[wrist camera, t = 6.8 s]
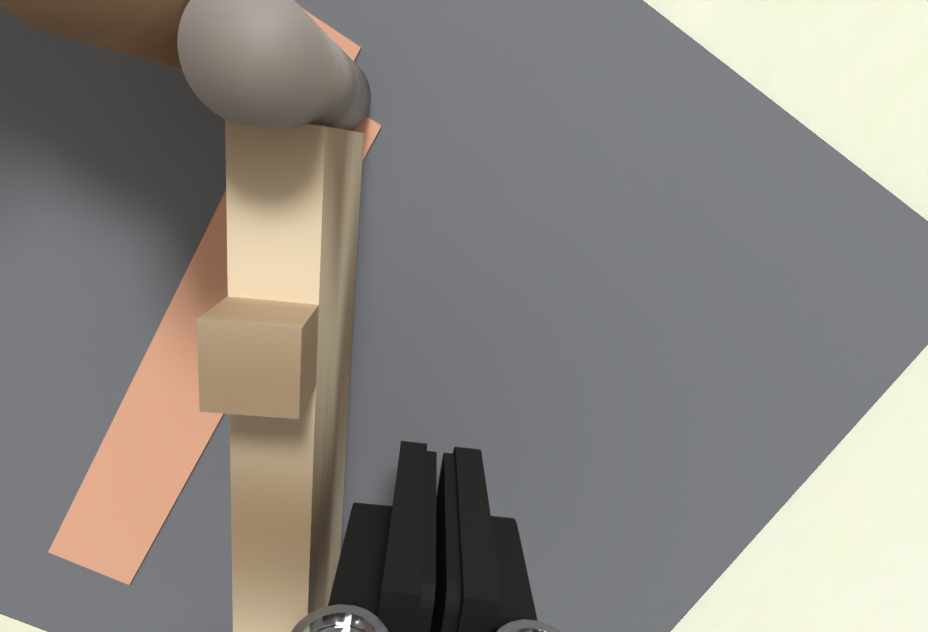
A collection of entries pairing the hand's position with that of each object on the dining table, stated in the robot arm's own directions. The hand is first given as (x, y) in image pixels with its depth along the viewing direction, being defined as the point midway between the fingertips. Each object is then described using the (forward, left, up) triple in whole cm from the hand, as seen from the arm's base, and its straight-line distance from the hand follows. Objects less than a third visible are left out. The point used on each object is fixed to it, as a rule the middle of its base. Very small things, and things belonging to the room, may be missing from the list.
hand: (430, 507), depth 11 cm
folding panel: (-3, 0, -2) cm, 3 cm away
